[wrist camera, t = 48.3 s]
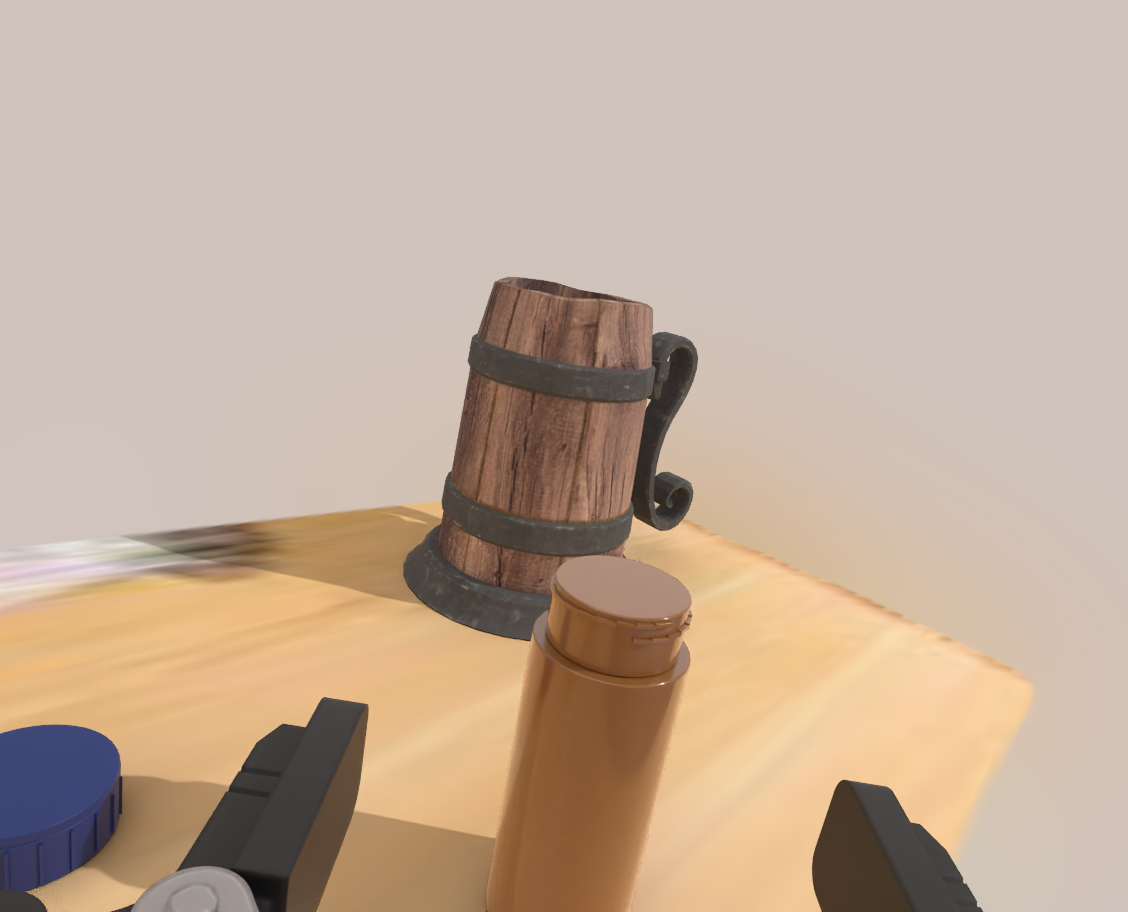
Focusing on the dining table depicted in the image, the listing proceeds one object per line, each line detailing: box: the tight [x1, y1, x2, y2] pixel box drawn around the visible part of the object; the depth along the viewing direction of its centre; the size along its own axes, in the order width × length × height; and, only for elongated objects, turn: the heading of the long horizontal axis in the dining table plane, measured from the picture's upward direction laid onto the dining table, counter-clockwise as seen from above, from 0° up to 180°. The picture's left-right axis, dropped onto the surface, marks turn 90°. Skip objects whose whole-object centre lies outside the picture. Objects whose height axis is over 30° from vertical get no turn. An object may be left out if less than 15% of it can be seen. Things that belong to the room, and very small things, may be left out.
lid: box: [0, 725, 122, 892], centre depth 27 cm, size 6×6×2 cm
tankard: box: [404, 277, 698, 640], centre depth 53 cm, size 24×17×20 cm
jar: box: [486, 555, 692, 912], centre depth 26 cm, size 5×5×13 cm
